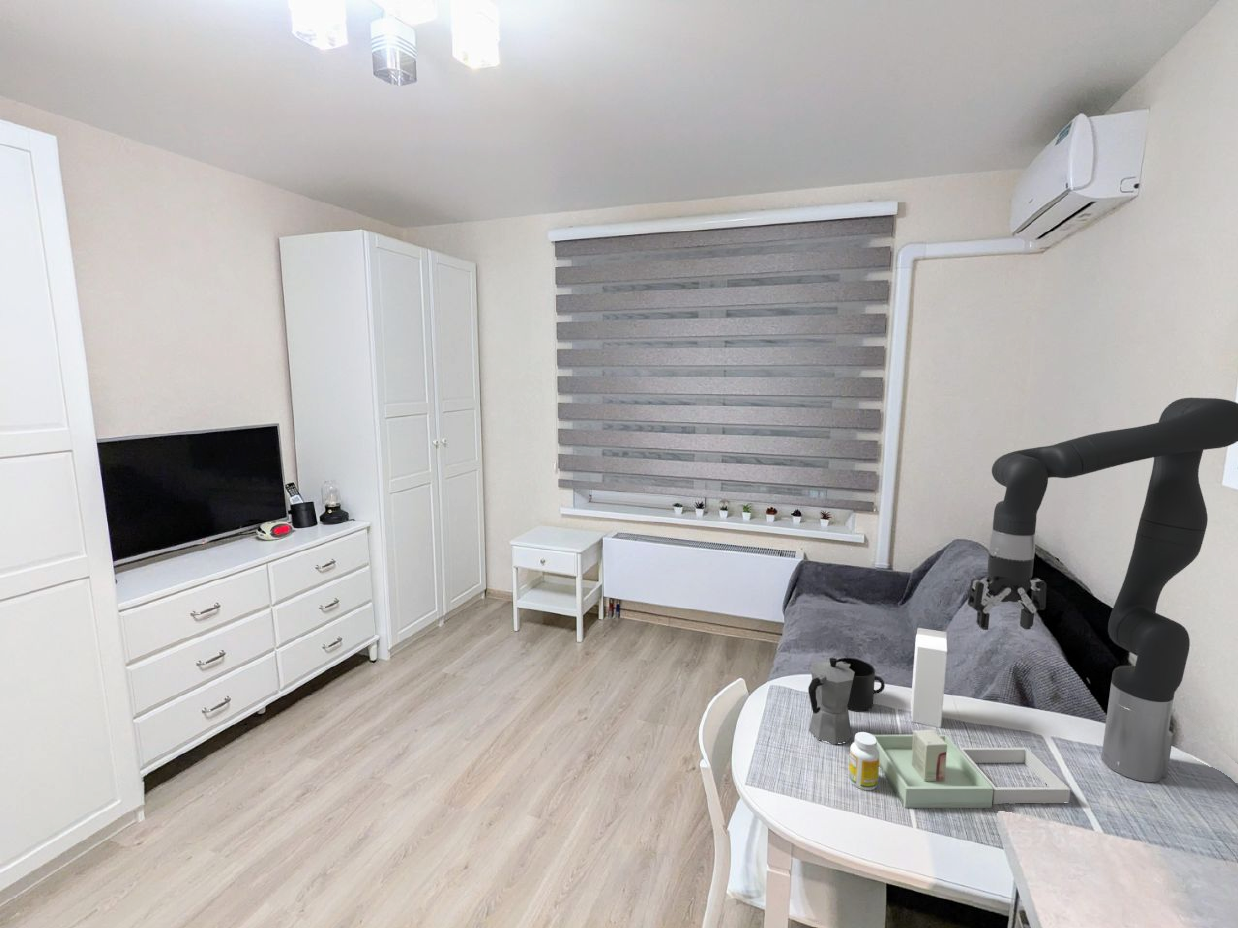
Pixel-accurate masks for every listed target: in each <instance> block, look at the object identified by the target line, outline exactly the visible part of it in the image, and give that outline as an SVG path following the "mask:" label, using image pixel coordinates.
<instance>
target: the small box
mask: <svg viewBox="0 0 1238 928" xmlns="http://www.w3.org/2000/svg"><path fill="white" fill-rule="evenodd" d="M912 731H913V733H912V735H913V747H912V762H911V765H912V766H913V768H914V769H915V770H916V771H917V773H918V774H919V775H920V776H921V778H922V779H923V780H924V781H938V780H945V768H946V753H947V744H946V743H945V741H944V740H943V739H942V738H941V737H940V736H939V735H940V734H938V733H937V732H936V731H935V730H934V729H914V730H912Z"/></svg>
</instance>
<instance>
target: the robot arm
mask: <svg viewBox="0 0 1238 928" xmlns="http://www.w3.org/2000/svg"><path fill="white" fill-rule="evenodd" d="M1237 442H1238V402H1236V401H1233V400H1228V399H1225V398H1217V397H1215V398H1213V397H1211V398H1210V397H1184V398H1180V399H1176V400H1174V401H1172V402H1171V403H1170V404H1168V405H1167V406H1166V407H1165V408H1164V410H1163V411H1162V413H1161V414H1160V417H1159V420H1158V422H1155V423H1151V424H1150V423H1149V424H1145V425H1141V426H1136V427H1128V428H1123V429H1116V430H1115V429H1114V430H1108V431H1107V430H1106V431H1102V432H1098V433H1091V434H1087V435H1084V436H1079V437H1076V438H1072V439H1069V440H1066V441H1062V442H1058V443H1055V444H1052V445H1047V446H1038V447H1033V448H1032V447H1031V448H1027V449H1019V450H1014V451H1012V452H1008V453H1005V454H1003V455H1002V456H999V457H998V458H997V459H996V460H995V461H994V463H993V465H992V468H991V475H992V477H993V478H994V480H995V481H996V482H997V483H998V484H999V485H1001V486H1003V487H1005V493H1004V497H1003V500H1001V501H998V503H996V505H995V508H994V511H993V521H992V530H991V535H990V540H989V547H988V550H989V551H988V559H987V560H988V561H987V567H986V568H987V576H988V577H987V578H986V579H985V580H978V579H976V578H971V579H970V585H969V591H968V596H967V597H968V599H967V606H968V607H971V608H972V609H973V610H974V611H976V613H977V614H976V625H978V626H979V628H980V629H981V630H983V631H988V630H989V624H990V615H991V613H989V612H990V611H991V610H992V609H993V608H994V607H997V606H998V605H999V604H1000V603H1009V602H1012V603H1019V604H1020V606H1022V608H1021V610H1020V611H1021V612H1020V618H1019V620H1020V621H1019V625H1020V627H1021V628H1022V629H1024V630H1025V631H1026V630H1029V631H1030V630H1031V628H1032V627H1033V626H1034V620H1035V618H1034V617H1035V613H1036V612H1037V611H1039V610H1041V611H1043V610H1045V609H1046V607H1047V606H1046V605H1047V582H1046V581H1044V580H1041V579H1040V578H1038V577H1033V571H1034V570H1033V569H1034V561H1035V551H1036V538H1035V537H1036V527H1037V516H1038V515H1037V514H1038V511H1039V509H1040V507H1041V505H1042V502H1043V499H1044V497H1045V494H1046V491H1047V488H1048V484H1049V483H1048V482H1049V479H1051V478H1057V479H1059V478H1060V479H1069V478H1077V477H1078V476H1083V475H1086V474H1087V475H1088V474H1091V473H1094V472H1099V471H1103V470H1105V469H1110V468H1113V467H1117V466H1121V465H1125V464H1130V463H1134V462H1139V461H1143V460H1147V459H1152V458H1153V464H1152V469H1151V470H1152V471H1151V473H1150V478H1149V482H1148V487H1147V492H1146V495H1145V496H1146V497H1145V500H1144V504H1143V508H1142V511H1141V514H1140V518H1139V521H1138V525H1137V529H1136V533H1135V537H1134V538H1135V540H1134V544H1133V547H1132V553H1131V556H1130V560H1129V562H1128V566H1127V570H1126V574H1125V576H1124V579H1123V582H1122V585H1121V588H1120V589H1119V592H1118V595H1117V598H1116V600H1115V603H1114V605H1113V607H1112V609H1111V613H1110V616H1109V619H1108V623H1107V624H1108V625H1107V632H1108V635H1109V638H1110V639H1111V641H1112V642H1113V643H1114V644H1115V645H1117V646H1118V647H1120V648H1122V649H1123V650H1126V651H1127V652H1129V653H1131V654H1133V655H1134V656H1136V657H1137V658H1136V660H1135V665H1120V666H1116V667H1115V668H1114V669H1113V671H1112V675H1111V681H1110V682H1111V683H1110V690H1109V698H1108V705H1107V711H1106V712H1107V713H1106V720H1105V728H1104V734H1103V742H1102V751H1101V760H1102V761H1103V763H1104V764H1105V765H1106V766H1107V767H1108V768H1110V769H1111V770H1113V772H1114V771H1115V772H1116V773H1117V774H1120V775H1121V776H1124V777H1127V778H1128V779H1132V780H1135V781H1139V782H1145V783H1156V782H1158V781H1160V780H1161V779H1162V778H1166V777H1167V776H1168V771H1169V765H1170V758H1171V752H1172V746H1173V740H1174V738H1173V737H1174V734H1173V732H1172V731H1171V730H1170V725H1171V718H1172V712H1173V711H1172V710H1173V704H1174V698H1175V693H1176V692H1177V690H1178V688H1179V687H1180V685H1181V683H1182V682H1183V677H1184V674H1185V673H1184V672H1185V669H1186V664H1187V661H1188V657H1189V654H1190V653H1189V652H1190V646H1191V644H1190V642H1191V641H1190V635H1189V632H1188V631H1187V629H1186V628H1185V626H1183V625H1182V624H1181V623H1179V622H1177V621H1175V620H1172V619H1171V618H1168V617H1166V616H1164V615H1162V614H1160V613H1158V612H1156V611H1157V606H1158V602H1159V599H1160V595H1161V592H1162V590H1163V589H1164V587H1165V585H1166V584H1167V583H1168V582H1169V581H1170V580H1172V579H1173V578H1174V577H1175V576H1176V575H1178V574H1179V573H1180V572H1181V571H1182V572H1183V570H1184V569H1185V568H1187V567H1188V566H1189V565H1190V564H1192V563H1193V562H1194V561H1195V559H1196V558H1197V557H1198V555H1199V554H1200V552H1201V549H1202V546H1203V542H1204V539H1205V535H1206V531H1207V528H1208V526H1207V525H1208V512H1207V507H1206V501H1205V499H1204V495H1203V492H1202V488H1201V485H1200V481H1199V480H1200V479H1199V469H1200V465H1201V461H1202V456H1203V454H1204V451H1205V450H1214V449H1221V448H1227V447H1228V446H1229V447H1230V446H1232V445H1234V444H1236V443H1237ZM1032 577H1033V578H1032ZM986 588H987V589H986ZM1030 589H1031V598H1030V597H1029V595H1028V594H1027V593H1028V592H1029V590H1030ZM991 597H993V598H991Z"/></svg>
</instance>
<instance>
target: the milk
mask: <svg viewBox="0 0 1238 928" xmlns="http://www.w3.org/2000/svg"><path fill="white" fill-rule="evenodd" d="M947 635H948V633H947V632H946V631H942V630H941V631H940V630H934V629H927V628H921V627H918V628H917V629H916V635H915V640H914V641H915V644H914V645H915V646H914V655H913V656H914V657H913V670H912V672H913V673H912V685H911V686H912V687H911V696H910V714H911V722H912V723H916V724H921V725H925V726H931V727H935V728H940V729H941V728H942V721H943V720H942V718H943V706H944V695H945V685H946V684H945V682H946V681H945V680H946V672H947V660H948V658H947V657H948V644H947V643H948V641H947V637H948V636H947Z"/></svg>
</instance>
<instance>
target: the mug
mask: <svg viewBox="0 0 1238 928" xmlns="http://www.w3.org/2000/svg"><path fill="white" fill-rule="evenodd" d="M837 662H846V663H848V664H851V665H850V667H849V668H850V669H851V670H853V671H854V672H855V673H854V678H853V683H852V687H851V692H850V696H849V701H848V704H847V707H848V711H853V712H854V711H855V712H864V711H868V710H870V709H872V707H873V705H874V696H875V695H877V694H880V693H882V692H883V691H884V690H885V685H886V683H885V681H884V679H883V678H881V677H880V676H877V675H876V669H875V668H874V666H873V665H872V664H871V663H869V662H867V661H865V660H862V659H859V658H853V657H843V658H842V657H841V658H838V659H837ZM837 662H836V663H837ZM875 681H878V682H879V683H880V688H878V689H875Z"/></svg>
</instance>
